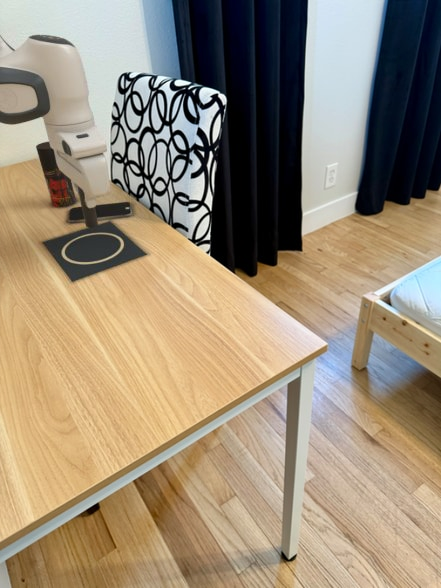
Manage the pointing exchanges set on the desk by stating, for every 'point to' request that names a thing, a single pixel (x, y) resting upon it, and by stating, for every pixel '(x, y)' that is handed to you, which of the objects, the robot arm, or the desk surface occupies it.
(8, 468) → the desk surface
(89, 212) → the marker
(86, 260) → the desk pad
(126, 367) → the desk surface
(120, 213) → the smartphone
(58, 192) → the deodorant
